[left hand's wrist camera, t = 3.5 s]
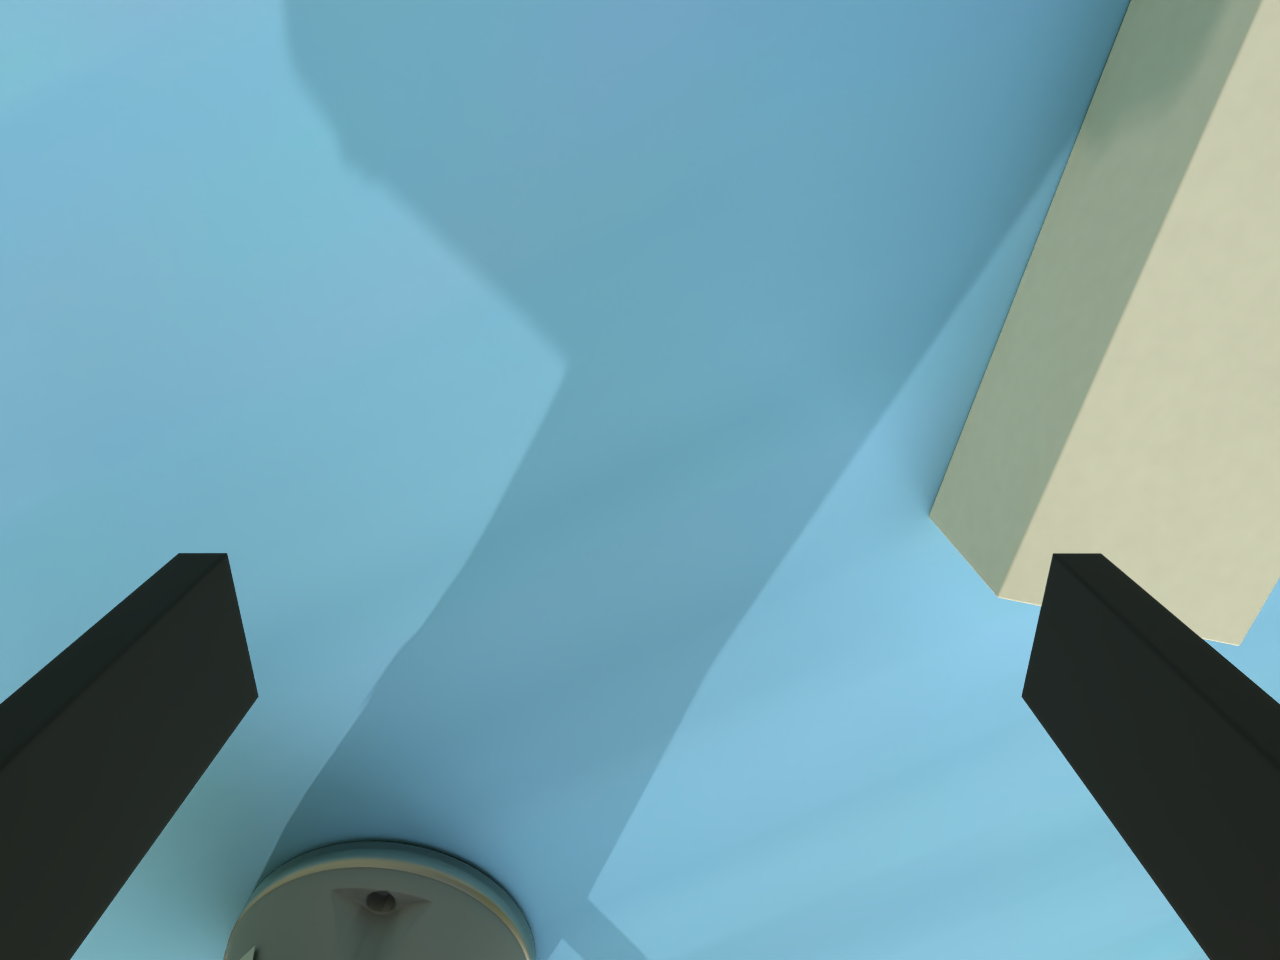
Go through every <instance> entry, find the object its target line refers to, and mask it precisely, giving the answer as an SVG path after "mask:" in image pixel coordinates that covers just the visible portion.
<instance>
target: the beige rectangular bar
mask: <svg viewBox="0 0 1280 960" xmlns="http://www.w3.org/2000/svg"><path fill="white" fill-rule="evenodd" d="M929 518H930V519H931V520H932V521H933V522H934V524H935V525H936V526H937V527H938V528H939V529H940V531H941V532H942V533H943V534H944V535H945V536H946V538H947V539H948V540H949V541H950V542H951V543H952V545H953V546H954V547H955V548H956V549H957V550H958V552H959V553H960V554H961V555H962V556H963V557H964V559H965V560H966V561H967V562H968V563H969V564H970V566H971V567H972V568H973V569H974V570H975V571H976V573H977V574H978V575H979V576H980V577H981V578H982V580H983V581H984V582H985V583H986V584H987V585H988V587H989V588H990V589H991V590H992V591H993V592H994V594H995V595H996V596H997V597H999V598H1003V599H1008V600H1013V601H1018V602H1023V603H1028V604H1033V605H1038V606H1042V601H1043V597H1044V592H1045V587H1046V583H1047V578H1048V574H1049V569H1050V564H1051V560H1052V555H1053V553H1101V554H1103V555H1104V556H1105V557H1106V558H1107V559H1108V560H1110V561H1111V562H1112V563H1113V564H1114V565H1116V566H1117V567H1118V568H1119V569H1120V570H1121V571H1123V572H1124V573H1125V574H1126V575H1127V576H1129V577H1130V578H1131V579H1132V580H1133V581H1134V582H1136V583H1137V584H1138V585H1139V586H1140V587H1142V588H1143V589H1144V590H1145V591H1146V592H1147V593H1149V594H1150V595H1151V596H1152V597H1153V598H1155V599H1156V600H1157V601H1158V602H1159V603H1160V604H1162V605H1163V606H1164V607H1165V608H1166V609H1168V610H1169V611H1170V612H1171V613H1172V614H1173V615H1175V616H1176V617H1177V618H1178V619H1179V620H1181V621H1182V622H1183V623H1184V624H1185V625H1187V626H1188V627H1189V628H1190V629H1191V630H1192V631H1194V632H1195V633H1196V634H1197V635H1198V636H1200V637H1201V638H1202V639H1207V640H1212V641H1217V642H1222V643H1227V644H1232V645H1237V646H1239V645H1240V644H1241V642H1242V641H1243V639H1244V637H1245V636H1246V634H1247V632H1248V630H1249V629H1250V627H1251V625H1252V624H1253V622H1254V620H1255V619H1256V617H1257V615H1258V613H1259V612H1260V610H1261V608H1262V607H1263V605H1264V603H1265V601H1266V600H1267V598H1268V596H1269V595H1270V593H1271V591H1272V590H1273V588H1274V586H1275V584H1276V583H1277V581H1278V579H1279V578H1280V0H1131V1H1130V4H1129V6H1128V9H1127V12H1126V14H1125V17H1124V19H1123V22H1122V24H1121V27H1120V29H1119V32H1118V35H1117V37H1116V40H1115V42H1114V45H1113V47H1112V50H1111V52H1110V55H1109V57H1108V60H1107V63H1106V65H1105V68H1104V70H1103V73H1102V75H1101V78H1100V80H1099V83H1098V86H1097V88H1096V91H1095V93H1094V96H1093V98H1092V101H1091V103H1090V106H1089V109H1088V111H1087V114H1086V116H1085V119H1084V121H1083V124H1082V126H1081V129H1080V132H1079V134H1078V137H1077V139H1076V142H1075V144H1074V147H1073V149H1072V152H1071V154H1070V157H1069V160H1068V162H1067V165H1066V167H1065V170H1064V172H1063V175H1062V177H1061V180H1060V183H1059V185H1058V188H1057V190H1056V193H1055V195H1054V198H1053V200H1052V203H1051V206H1050V208H1049V211H1048V213H1047V216H1046V218H1045V221H1044V223H1043V226H1042V229H1041V231H1040V234H1039V236H1038V239H1037V241H1036V244H1035V246H1034V249H1033V252H1032V254H1031V257H1030V259H1029V262H1028V264H1027V267H1026V269H1025V272H1024V274H1023V277H1022V280H1021V282H1020V285H1019V287H1018V290H1017V292H1016V295H1015V297H1014V300H1013V303H1012V305H1011V308H1010V310H1009V313H1008V315H1007V318H1006V320H1005V323H1004V326H1003V328H1002V331H1001V333H1000V336H999V338H998V341H997V343H996V346H995V349H994V351H993V354H992V356H991V359H990V361H989V364H988V366H987V369H986V371H985V374H984V377H983V379H982V382H981V384H980V387H979V389H978V392H977V394H976V397H975V400H974V402H973V405H972V407H971V410H970V412H969V415H968V417H967V420H966V423H965V425H964V428H963V430H962V433H961V435H960V438H959V440H958V443H957V446H956V448H955V451H954V453H953V456H952V458H951V461H950V463H949V466H948V469H947V471H946V474H945V476H944V479H943V481H942V484H941V486H940V489H939V491H938V494H937V497H936V499H935V502H934V504H933V507H932V509H931V512H930V514H929Z"/></svg>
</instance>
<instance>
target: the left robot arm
mask: <svg viewBox="0 0 1280 960" xmlns="http://www.w3.org/2000/svg"><path fill="white" fill-rule="evenodd" d="M257 698H258V693H257V688H256V683H255V679H254V674H253V670H252V665H251V661H250V656H249V651H248V647H247V642H246V638H245V633H244V629H243V624H242V619H241V615H240V610H239V606H238V601H237V596H236V592H235V587H234V583H233V578H232V574H231V569H230V564H229V560H228V555H227V553H179V554H177V555H176V556H175V557H174V558H173V559H172V560H170V561H169V562H168V563H167V564H166V565H164V566H163V567H162V568H161V569H160V570H159V571H157V572H156V573H155V574H154V575H153V576H151V577H150V578H149V579H148V580H147V581H146V582H144V583H143V584H142V585H141V586H140V587H138V588H137V589H136V590H135V591H134V592H133V593H131V594H130V595H129V596H128V597H127V598H125V599H124V600H123V601H122V602H121V603H120V604H118V605H117V606H116V607H115V608H114V609H112V610H111V611H110V612H109V613H108V614H107V615H105V616H104V617H103V618H102V619H101V620H99V621H98V622H97V623H96V624H95V625H94V626H92V627H91V628H90V629H89V630H88V631H86V632H85V633H84V634H83V635H82V636H80V637H79V638H78V639H77V640H76V641H75V642H73V643H72V644H71V645H70V646H69V647H67V648H66V649H65V650H64V651H63V652H62V653H60V654H59V655H58V656H57V657H56V658H54V659H53V660H52V661H51V662H50V663H49V664H47V665H46V666H45V667H44V668H43V669H41V670H40V671H39V672H38V673H37V674H36V675H34V676H33V677H32V678H31V679H30V680H28V681H27V682H26V683H25V684H24V685H23V686H21V687H20V688H19V689H18V690H17V691H15V692H14V693H13V694H12V695H11V696H10V697H8V698H7V699H6V700H5V701H4V702H2V703H1V704H0V960H70V959H71V958H72V956H73V955H74V953H75V952H76V951H77V949H78V948H79V946H80V945H81V944H82V942H83V941H84V939H85V938H86V937H87V935H88V934H89V932H90V931H91V930H92V928H93V927H94V925H95V924H96V923H97V921H98V920H99V918H100V917H101V916H102V914H103V913H104V911H105V910H106V909H107V907H108V906H109V904H110V903H111V902H112V900H113V899H114V898H115V896H116V895H117V893H118V892H119V891H120V889H121V888H122V886H123V885H124V884H125V882H126V881H127V879H128V878H129V877H130V875H131V874H132V872H133V871H134V870H135V868H136V867H137V865H138V864H139V863H140V861H141V860H142V858H143V857H144V856H145V854H146V853H147V851H148V850H149V849H150V847H151V846H152V844H153V843H154V842H155V840H156V839H157V837H158V836H159V835H160V833H161V832H162V830H163V829H164V828H165V826H166V825H167V823H168V822H169V821H170V819H171V818H172V816H173V815H174V814H175V812H176V811H177V810H178V808H179V807H180V805H181V804H182V803H183V801H184V800H185V798H186V797H187V796H188V794H189V793H190V791H191V790H192V789H193V787H194V786H195V784H196V783H197V782H198V780H199V779H200V777H201V776H202V775H203V773H204V772H205V770H206V769H207V768H208V766H209V765H210V763H211V762H212V761H213V759H214V758H215V756H216V755H217V754H218V752H219V751H220V749H221V748H222V747H223V745H224V744H225V742H226V741H227V740H228V738H229V737H230V735H231V734H232V733H233V731H234V730H235V728H236V727H237V726H238V724H239V723H240V722H241V720H242V719H243V717H244V716H245V715H246V713H247V712H248V710H249V709H250V708H251V706H252V705H253V703H254V702H255V701H256V699H257ZM1022 698H1023V699H1024V701H1025V702H1026V703H1027V705H1028V706H1029V708H1030V709H1031V710H1032V712H1033V713H1034V715H1035V716H1036V717H1037V719H1038V720H1039V722H1040V723H1041V724H1042V726H1043V727H1044V728H1045V730H1046V731H1047V733H1048V734H1049V735H1050V737H1051V738H1052V740H1053V741H1054V742H1055V744H1056V745H1057V747H1058V748H1059V749H1060V751H1061V752H1062V754H1063V755H1064V756H1065V758H1066V759H1067V761H1068V762H1069V763H1070V765H1071V766H1072V768H1073V769H1074V770H1075V772H1076V773H1077V775H1078V776H1079V777H1080V779H1081V780H1082V782H1083V783H1084V784H1085V786H1086V787H1087V789H1088V790H1089V791H1090V793H1091V794H1092V796H1093V797H1094V798H1095V800H1096V801H1097V803H1098V804H1099V805H1100V807H1101V808H1102V810H1103V811H1104V812H1105V814H1106V815H1107V816H1108V818H1109V819H1110V821H1111V822H1112V823H1113V825H1114V826H1115V828H1116V829H1117V830H1118V832H1119V833H1120V835H1121V836H1122V837H1123V839H1124V840H1125V842H1126V843H1127V844H1128V846H1129V847H1130V849H1131V850H1132V851H1133V853H1134V854H1135V856H1136V857H1137V858H1138V860H1139V861H1140V863H1141V864H1142V865H1143V867H1144V868H1145V870H1146V871H1147V872H1148V874H1149V875H1150V877H1151V878H1152V879H1153V881H1154V882H1155V884H1156V885H1157V886H1158V888H1159V889H1160V891H1161V892H1162V893H1163V895H1164V896H1165V898H1166V899H1167V900H1168V902H1169V903H1170V904H1171V906H1172V907H1173V909H1174V910H1175V911H1176V913H1177V914H1178V916H1179V917H1180V918H1181V920H1182V921H1183V923H1184V924H1185V925H1186V927H1187V928H1188V930H1189V931H1190V932H1191V934H1192V935H1193V937H1194V938H1195V939H1196V941H1197V942H1198V944H1199V945H1200V946H1201V948H1202V949H1203V951H1204V952H1205V953H1206V955H1207V956H1208V958H1209V959H1210V960H1280V704H1279V703H1278V702H1276V701H1275V700H1274V699H1273V698H1272V697H1270V696H1269V695H1268V694H1267V693H1266V692H1265V691H1263V690H1262V689H1261V688H1260V687H1259V686H1257V685H1256V684H1255V683H1254V682H1253V681H1252V680H1250V679H1249V678H1248V677H1247V676H1246V675H1244V674H1243V673H1242V672H1241V671H1240V670H1239V669H1237V668H1236V667H1235V666H1234V665H1233V664H1231V663H1230V662H1229V661H1228V660H1227V659H1226V658H1224V657H1223V656H1222V655H1221V654H1220V653H1218V652H1217V651H1216V650H1215V649H1214V648H1213V647H1211V646H1210V645H1209V644H1208V643H1207V642H1205V641H1204V640H1203V639H1202V638H1201V637H1200V636H1198V635H1197V634H1196V633H1195V632H1194V631H1192V630H1191V629H1190V628H1189V627H1188V626H1187V625H1185V624H1184V623H1183V622H1182V621H1181V620H1179V619H1178V618H1177V617H1176V616H1175V615H1173V614H1172V613H1171V612H1170V611H1169V610H1168V609H1166V608H1165V607H1164V606H1163V605H1162V604H1160V603H1159V602H1158V601H1157V600H1156V599H1155V598H1153V597H1152V596H1151V595H1150V594H1149V593H1147V592H1146V591H1145V590H1144V589H1143V588H1142V587H1140V586H1139V585H1138V584H1137V583H1136V582H1134V581H1133V580H1132V579H1131V578H1130V577H1129V576H1127V575H1126V574H1125V573H1124V572H1123V571H1121V570H1120V569H1119V568H1118V567H1117V566H1116V565H1114V564H1113V563H1112V562H1111V561H1110V560H1108V559H1107V558H1106V557H1105V556H1104V555H1103V554H1101V553H1053V555H1052V560H1051V564H1050V569H1049V574H1048V578H1047V583H1046V587H1045V592H1044V597H1043V601H1042V606H1041V610H1040V615H1039V619H1038V624H1037V629H1036V633H1035V638H1034V642H1033V647H1032V651H1031V656H1030V661H1029V665H1028V670H1027V674H1026V679H1025V683H1024V688H1023V693H1022ZM223 960H536V957H535V945H534V939H533V936H532V933H531V930H530V927H529V925H528V923H527V921H526V918H525V917H524V915H523V913H522V912H521V910H520V909H519V907H518V906H517V905H516V903H515V902H514V901H513V899H512V898H511V897H510V896H509V895H508V894H507V893H506V892H505V891H504V890H503V889H502V888H501V887H500V886H499V885H497V884H496V883H495V882H494V881H493V880H491V879H490V878H489V877H487V876H486V875H484V874H483V873H482V872H480V871H478V870H477V869H475V868H473V867H471V866H470V865H468V864H466V863H464V862H462V861H460V860H458V859H455V858H453V857H450V856H448V855H445V854H443V853H440V852H437V851H433V850H430V849H427V848H422V847H418V846H414V845H408V844H402V843H394V842H382V841H364V842H350V843H343V844H336V845H332V846H327V847H323V848H319V849H316V850H313V851H310V852H307V853H305V854H303V855H300V856H298V857H296V858H294V859H292V860H290V861H288V862H286V863H284V864H283V865H281V866H280V867H279V868H277V869H276V870H274V871H273V872H272V873H271V874H269V875H268V876H267V877H266V878H265V879H264V880H263V881H262V882H261V883H260V884H259V885H258V886H257V888H256V889H255V890H254V892H253V893H252V895H251V896H250V898H249V900H248V902H247V904H246V906H245V907H244V909H243V911H242V913H241V915H240V917H239V919H238V921H237V923H236V925H235V926H234V928H233V930H232V932H231V935H230V938H229V941H228V945H227V949H226V952H225V955H224V959H223Z"/></svg>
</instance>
